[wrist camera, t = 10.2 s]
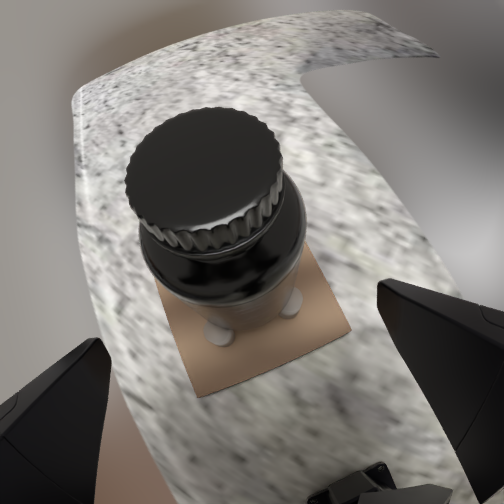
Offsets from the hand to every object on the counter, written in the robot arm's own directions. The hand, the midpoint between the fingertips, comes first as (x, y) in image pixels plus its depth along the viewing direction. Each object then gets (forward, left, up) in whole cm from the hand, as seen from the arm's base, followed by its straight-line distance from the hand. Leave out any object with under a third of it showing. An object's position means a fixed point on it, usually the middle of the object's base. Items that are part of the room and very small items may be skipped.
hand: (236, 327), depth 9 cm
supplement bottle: (+4, -1, -10) cm, 11 cm away
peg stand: (+5, -1, -14) cm, 14 cm away
